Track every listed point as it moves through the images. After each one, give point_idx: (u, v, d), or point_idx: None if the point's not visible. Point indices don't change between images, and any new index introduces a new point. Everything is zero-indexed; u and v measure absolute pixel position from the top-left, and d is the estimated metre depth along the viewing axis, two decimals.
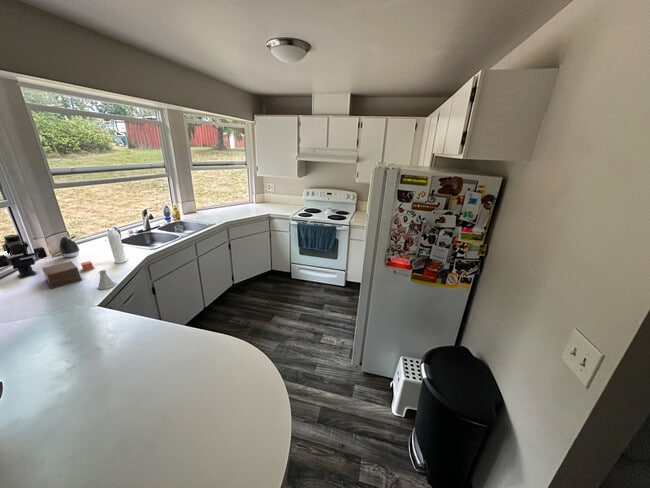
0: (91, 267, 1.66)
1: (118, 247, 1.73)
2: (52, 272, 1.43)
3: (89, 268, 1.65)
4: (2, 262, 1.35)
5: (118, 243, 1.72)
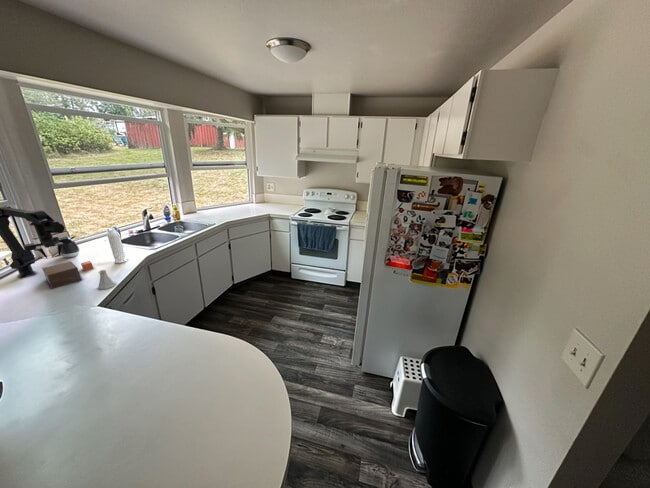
0: (91, 267, 1.66)
1: (118, 247, 1.73)
2: (52, 272, 1.43)
3: (89, 268, 1.65)
4: None
5: (118, 243, 1.72)
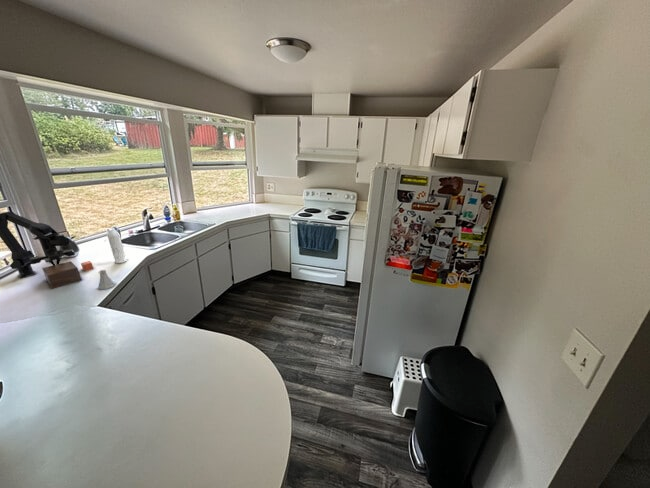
0: (91, 267, 1.66)
1: (118, 247, 1.73)
2: (52, 272, 1.43)
3: (89, 268, 1.65)
4: None
5: (118, 243, 1.72)
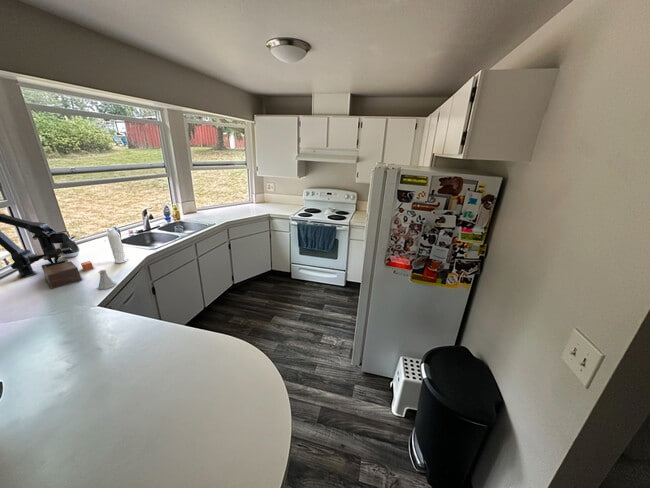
0: (91, 267, 1.66)
1: (118, 247, 1.73)
2: (52, 272, 1.43)
3: (89, 268, 1.65)
4: None
5: (118, 243, 1.72)
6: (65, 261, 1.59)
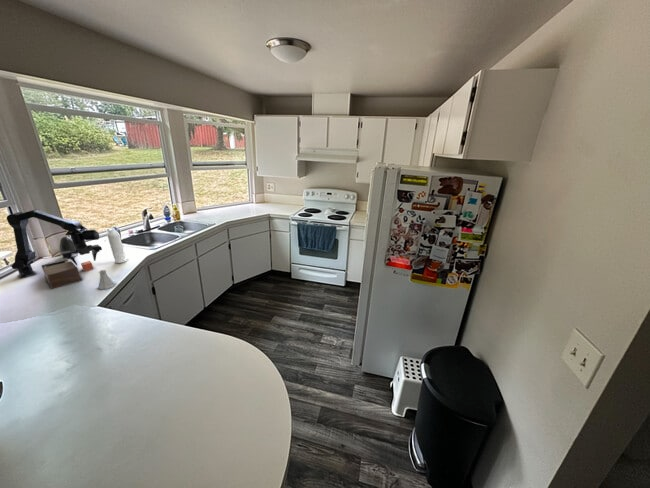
0: (91, 267, 1.66)
1: (118, 247, 1.73)
2: (52, 272, 1.43)
3: (89, 268, 1.65)
4: None
5: (118, 243, 1.72)
6: (65, 261, 1.59)
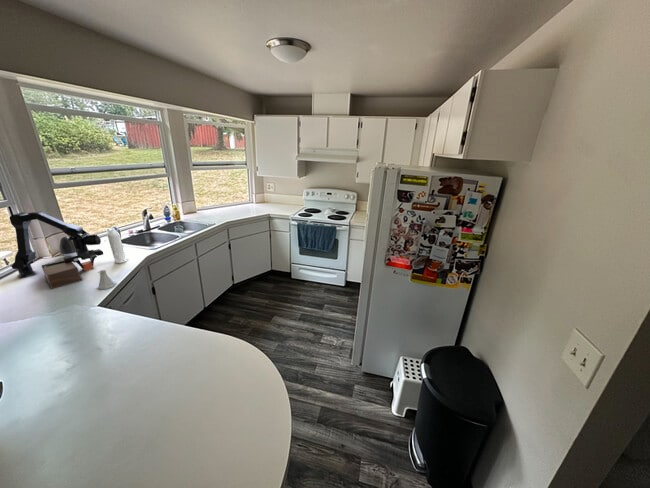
0: (91, 267, 1.66)
1: (118, 247, 1.73)
2: (52, 272, 1.43)
3: (89, 268, 1.65)
4: None
5: (118, 243, 1.72)
6: None
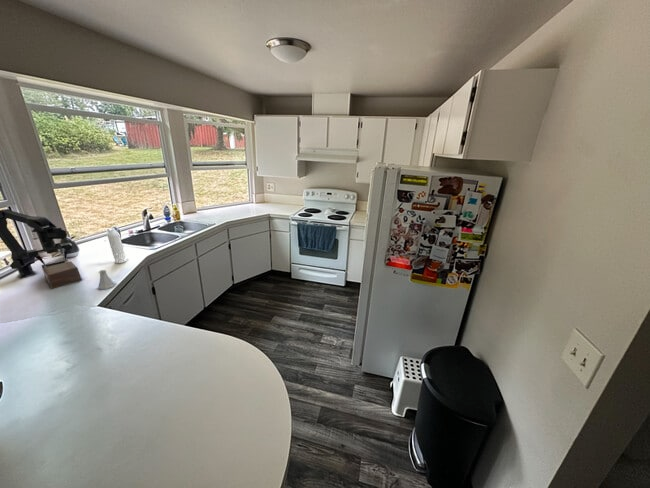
0: None
1: (118, 247, 1.73)
2: (52, 272, 1.43)
3: None
4: None
5: (118, 243, 1.72)
6: (65, 261, 1.59)
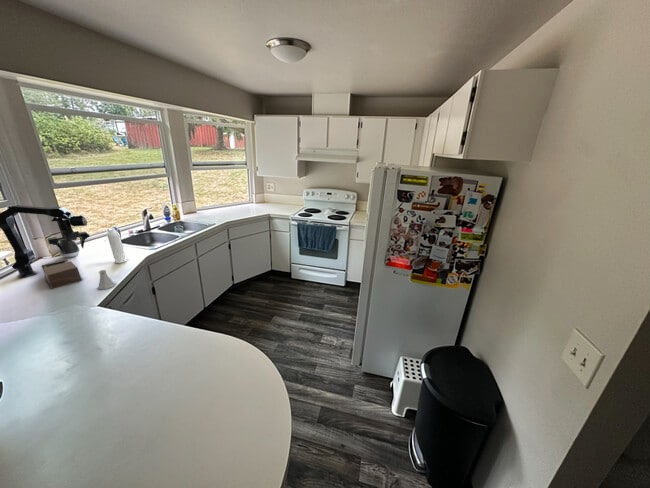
0: None
1: (118, 247, 1.73)
2: (52, 272, 1.43)
3: None
4: None
5: (118, 243, 1.72)
6: (65, 261, 1.59)
